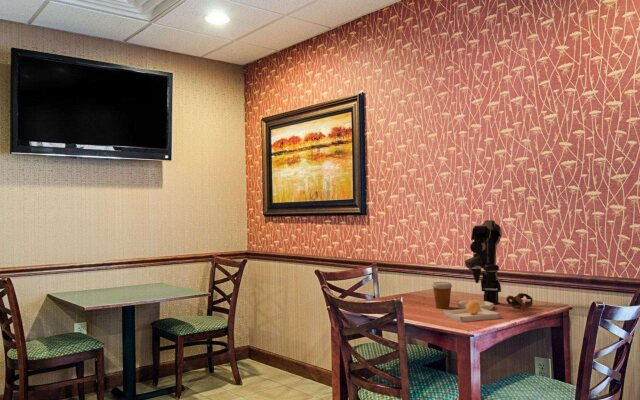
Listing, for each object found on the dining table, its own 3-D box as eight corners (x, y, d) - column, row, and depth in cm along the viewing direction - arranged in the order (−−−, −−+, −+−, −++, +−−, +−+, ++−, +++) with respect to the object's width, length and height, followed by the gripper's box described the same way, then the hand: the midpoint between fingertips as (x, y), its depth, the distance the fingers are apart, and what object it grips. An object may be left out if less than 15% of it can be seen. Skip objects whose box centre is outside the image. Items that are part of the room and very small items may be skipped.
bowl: (480, 304, 275) (480, 299, 275) (499, 309, 260) (499, 304, 260) (452, 306, 270) (452, 301, 270) (470, 311, 255) (470, 307, 255)
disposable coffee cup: (452, 309, 262) (452, 284, 262) (432, 309, 264) (432, 284, 264) (452, 305, 271) (451, 281, 271) (432, 305, 273) (432, 281, 273)
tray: (480, 312, 254) (480, 307, 254) (500, 318, 239) (500, 313, 239) (442, 315, 248) (442, 311, 248) (460, 321, 233) (460, 317, 233)
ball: (475, 312, 250) (474, 299, 250) (483, 314, 244) (482, 301, 244) (464, 313, 248) (463, 300, 248) (471, 315, 242) (470, 302, 243)
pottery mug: (527, 307, 266) (533, 294, 263) (529, 319, 258) (535, 305, 254) (503, 300, 268) (508, 287, 264) (504, 312, 260) (509, 299, 256)
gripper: (456, 251, 267) (457, 282, 267) (478, 253, 249) (479, 287, 249) (476, 250, 271) (476, 281, 270) (499, 252, 253) (500, 286, 253)
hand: (482, 284), depth 260 cm, fingers open, 9 cm apart
